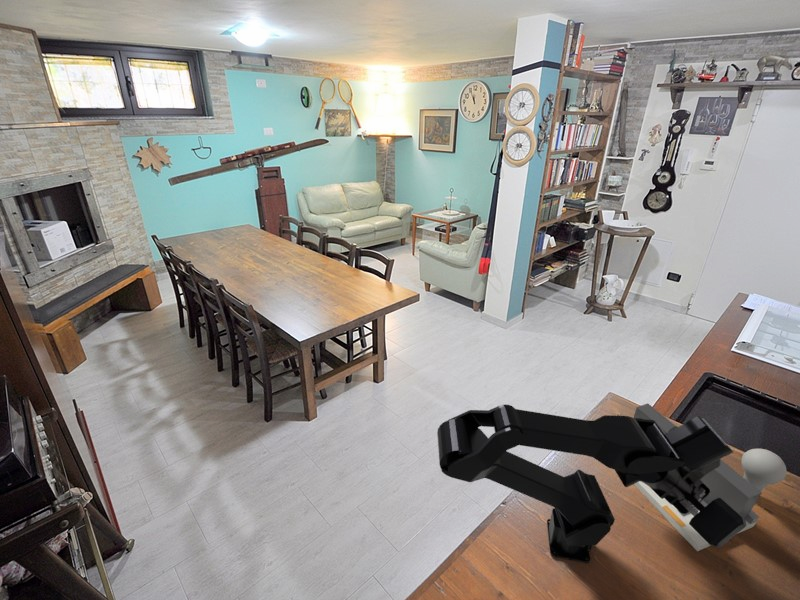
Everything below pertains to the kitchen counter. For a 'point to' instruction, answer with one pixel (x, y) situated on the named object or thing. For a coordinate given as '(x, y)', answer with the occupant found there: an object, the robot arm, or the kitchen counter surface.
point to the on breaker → (653, 417)
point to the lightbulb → (763, 468)
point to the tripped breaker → (731, 489)
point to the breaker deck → (684, 517)
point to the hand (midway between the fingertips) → (690, 493)
